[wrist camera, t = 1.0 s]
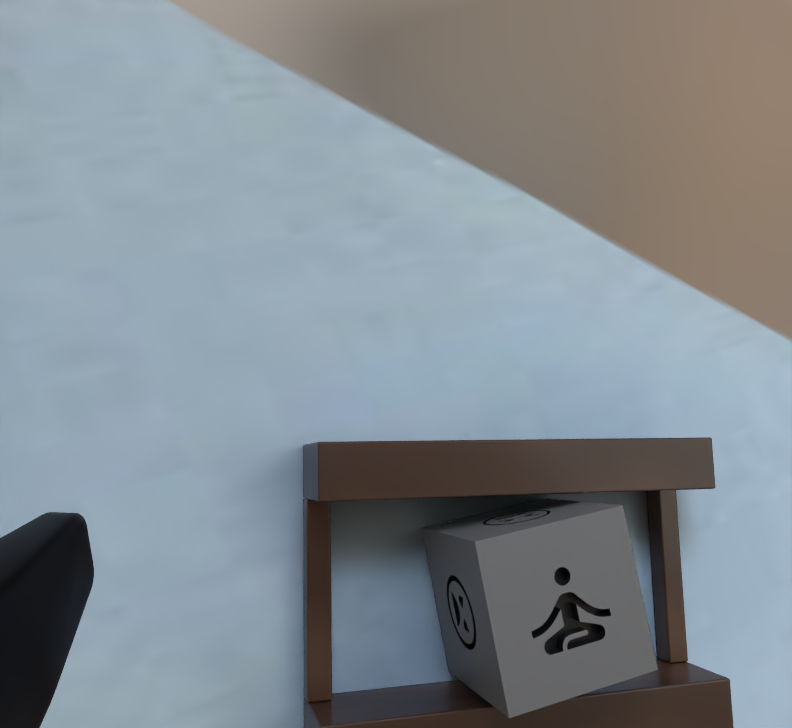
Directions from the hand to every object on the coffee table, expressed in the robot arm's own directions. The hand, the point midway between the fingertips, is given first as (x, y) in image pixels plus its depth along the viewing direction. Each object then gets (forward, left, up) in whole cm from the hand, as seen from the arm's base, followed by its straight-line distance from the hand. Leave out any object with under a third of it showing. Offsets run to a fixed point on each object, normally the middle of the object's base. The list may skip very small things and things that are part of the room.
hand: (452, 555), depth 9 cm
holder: (-3, -8, -17) cm, 19 cm away
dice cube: (-3, -8, -17) cm, 19 cm away
